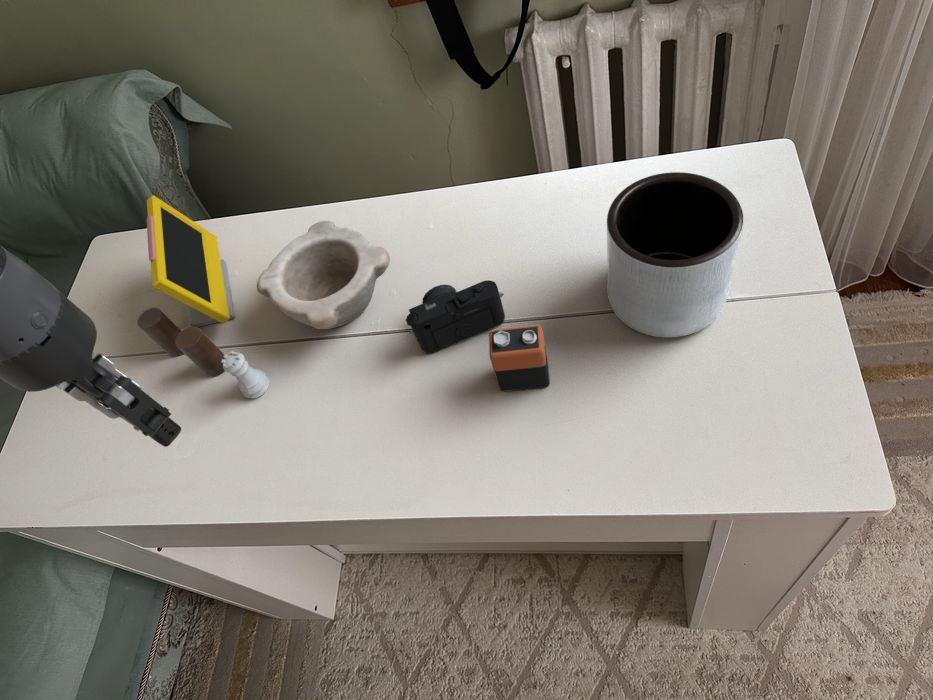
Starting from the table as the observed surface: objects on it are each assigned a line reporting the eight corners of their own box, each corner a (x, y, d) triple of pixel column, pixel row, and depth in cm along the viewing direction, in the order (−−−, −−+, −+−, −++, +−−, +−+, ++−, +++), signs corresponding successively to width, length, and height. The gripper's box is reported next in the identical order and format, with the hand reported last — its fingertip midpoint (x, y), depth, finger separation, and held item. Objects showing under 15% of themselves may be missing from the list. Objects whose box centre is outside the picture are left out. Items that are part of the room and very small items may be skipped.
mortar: (413, 289, 98) (396, 250, 91) (338, 366, 93) (313, 331, 86) (343, 248, 107) (322, 209, 99) (270, 317, 101) (242, 281, 94)
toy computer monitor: (240, 331, 101) (185, 268, 88) (195, 350, 101) (132, 289, 88) (226, 249, 112) (176, 183, 99) (185, 266, 112) (129, 201, 99)
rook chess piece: (268, 398, 93) (241, 371, 86) (240, 401, 93) (211, 373, 87) (273, 372, 95) (248, 343, 88) (246, 375, 96) (219, 346, 89)
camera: (495, 288, 95) (486, 253, 89) (513, 323, 91) (505, 289, 85) (408, 325, 95) (392, 292, 88) (422, 361, 91) (406, 330, 84)
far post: (179, 360, 100) (148, 332, 94) (163, 351, 102) (131, 323, 95) (195, 341, 102) (166, 312, 95) (179, 333, 103) (150, 304, 97)
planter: (714, 353, 82) (731, 278, 69) (593, 328, 88) (589, 255, 75) (735, 261, 89) (755, 177, 76) (623, 243, 95) (624, 163, 82)
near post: (217, 380, 96) (187, 352, 90) (199, 371, 98) (169, 343, 92) (233, 360, 98) (206, 331, 91) (216, 351, 100) (188, 322, 93)
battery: (499, 365, 88) (487, 324, 79) (548, 360, 86) (540, 318, 78) (500, 392, 85) (487, 353, 77) (550, 388, 84) (543, 347, 76)
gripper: (-79, 327, 48) (71, 423, 61) (22, 393, 42) (164, 484, 55) (-1, 258, 51) (126, 364, 64) (104, 310, 45) (220, 415, 58)
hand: (143, 419), depth 60 cm, fingers open, 8 cm apart
